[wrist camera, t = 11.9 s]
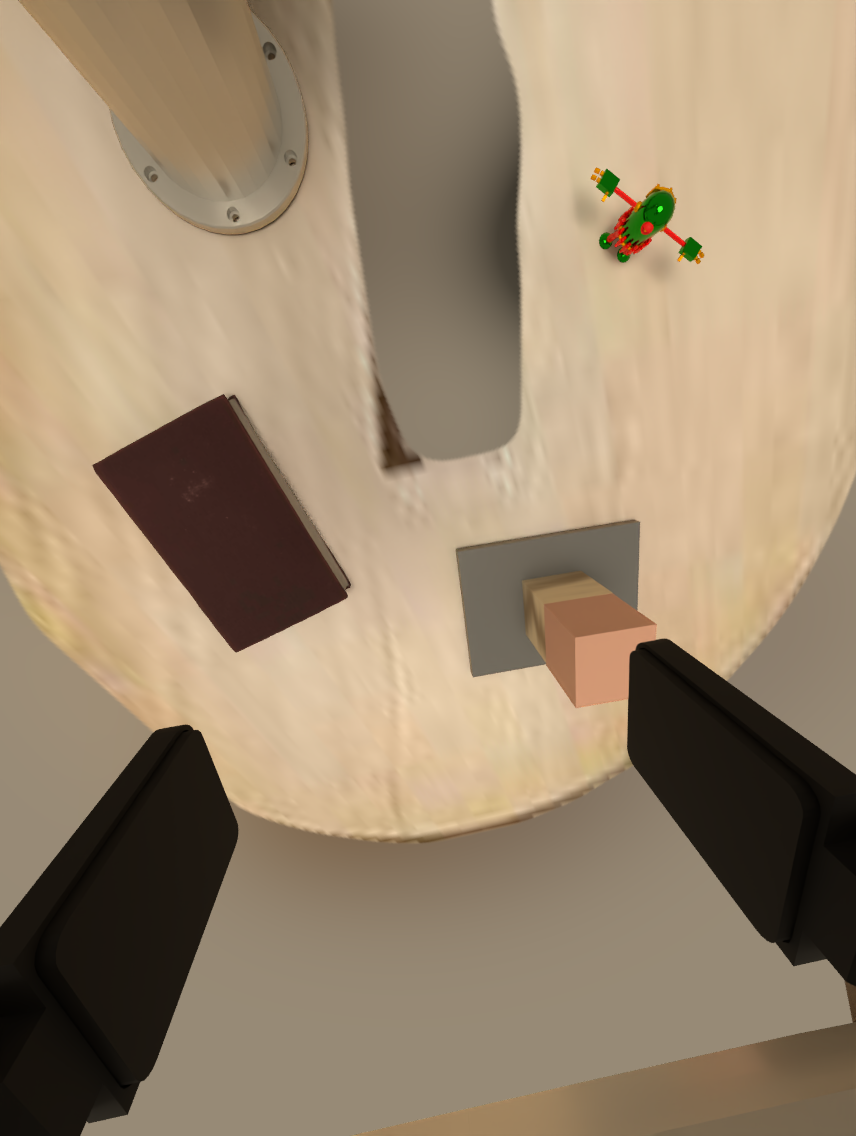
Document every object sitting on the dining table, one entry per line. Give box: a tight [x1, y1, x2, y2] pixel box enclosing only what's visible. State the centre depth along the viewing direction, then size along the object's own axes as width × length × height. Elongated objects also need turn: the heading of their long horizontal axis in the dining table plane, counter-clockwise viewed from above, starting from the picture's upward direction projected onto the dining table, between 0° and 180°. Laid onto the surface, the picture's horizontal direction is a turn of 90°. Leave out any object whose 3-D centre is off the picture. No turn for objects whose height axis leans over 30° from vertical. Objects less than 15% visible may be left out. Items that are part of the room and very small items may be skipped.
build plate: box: [456, 520, 640, 677], centre depth 41 cm, size 14×18×1 cm
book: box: [93, 394, 351, 652], centre depth 36 cm, size 13×19×3 cm, turn 26°
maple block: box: [522, 571, 612, 662], centre depth 38 cm, size 6×6×6 cm
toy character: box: [591, 168, 704, 264], centre depth 30 cm, size 11×12×7 cm
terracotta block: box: [544, 593, 657, 708], centre depth 32 cm, size 6×6×6 cm
